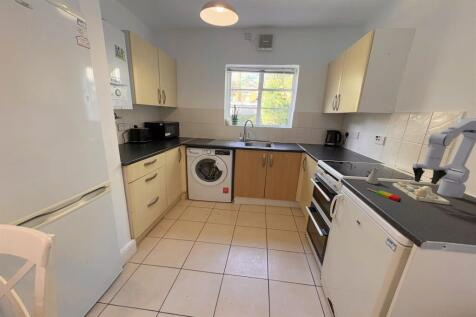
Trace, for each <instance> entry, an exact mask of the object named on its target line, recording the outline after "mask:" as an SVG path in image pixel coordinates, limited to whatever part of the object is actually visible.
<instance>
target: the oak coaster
mask: <svg viewBox="0 0 476 317" xmlns="http://www.w3.org/2000/svg"><path fill="white" fill-rule="evenodd" d="M397 183H399V184H406V185H413V184H412V183H409V182H405V181H398V182H397Z"/></svg>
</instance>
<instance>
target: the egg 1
mask: <svg viewBox="0 0 476 317" xmlns="http://www.w3.org/2000/svg"><path fill="white" fill-rule="evenodd" d="M415 195H416V196H418V197H423V198H426V196H427V191H426V190H424V189H417V190H416V192H415Z"/></svg>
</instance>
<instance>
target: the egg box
mask: <svg viewBox="0 0 476 317" xmlns="http://www.w3.org/2000/svg"><path fill="white" fill-rule="evenodd" d="M392 186H393V187H395V188H396V189H398V190H400V191H401V192H403V193H404V194H405V195H408V196H409V197H411V198H413V199H414V200H416V201H418V202H419V201H420V202H426V203H435V204H442V205H448V206H449V205H450V204H451V201H450V200H448V199H446V198H444V197H442V196H440V195H438V194H435V193H434V192H433V191H432V192H431V195H430V194H427V196H426V198H423V197H418V196H416V195H415V192H416V190H417V189H421V188H422V187H423V186H419V185H414V184H412V185H406V184H400V183H398V182H392Z"/></svg>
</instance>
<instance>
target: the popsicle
mask: <svg viewBox="0 0 476 317" xmlns="http://www.w3.org/2000/svg"><path fill="white" fill-rule="evenodd" d="M366 190H368V191H371V192H374V193H375V194H376V195H377V196H380V197H384V198H386V199H389V200H391V201H394V202H398V201H399V202H400V200H401V196H399V195H396V194H394V193H393V194H392V193H390V192H387V191H384V190H379V191H377V190H373V189H371V188H366Z"/></svg>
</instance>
